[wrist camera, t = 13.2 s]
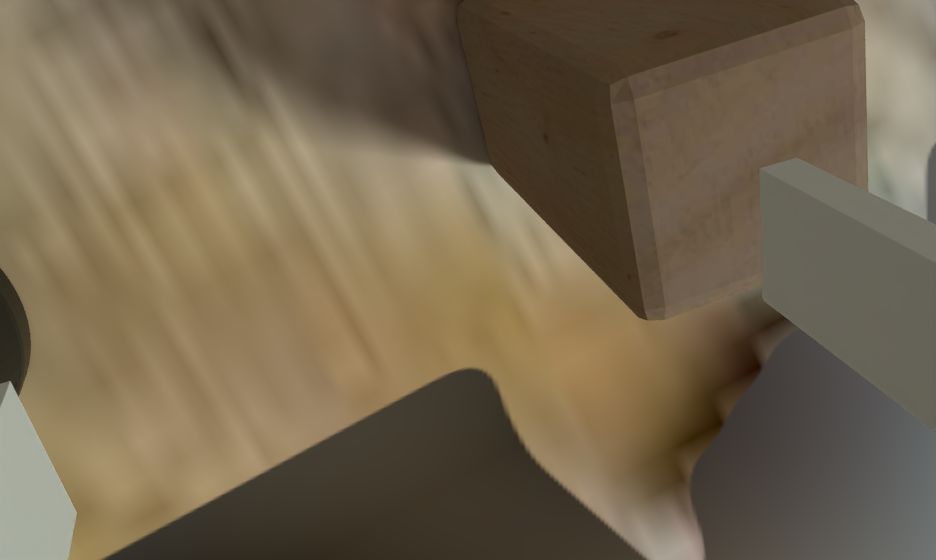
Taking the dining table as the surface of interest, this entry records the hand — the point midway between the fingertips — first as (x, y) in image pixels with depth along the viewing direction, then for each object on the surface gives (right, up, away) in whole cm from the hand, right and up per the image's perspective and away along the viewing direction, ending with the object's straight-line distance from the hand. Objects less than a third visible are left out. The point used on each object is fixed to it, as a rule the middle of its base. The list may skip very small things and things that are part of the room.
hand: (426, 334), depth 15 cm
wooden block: (+5, +13, +33) cm, 36 cm away
